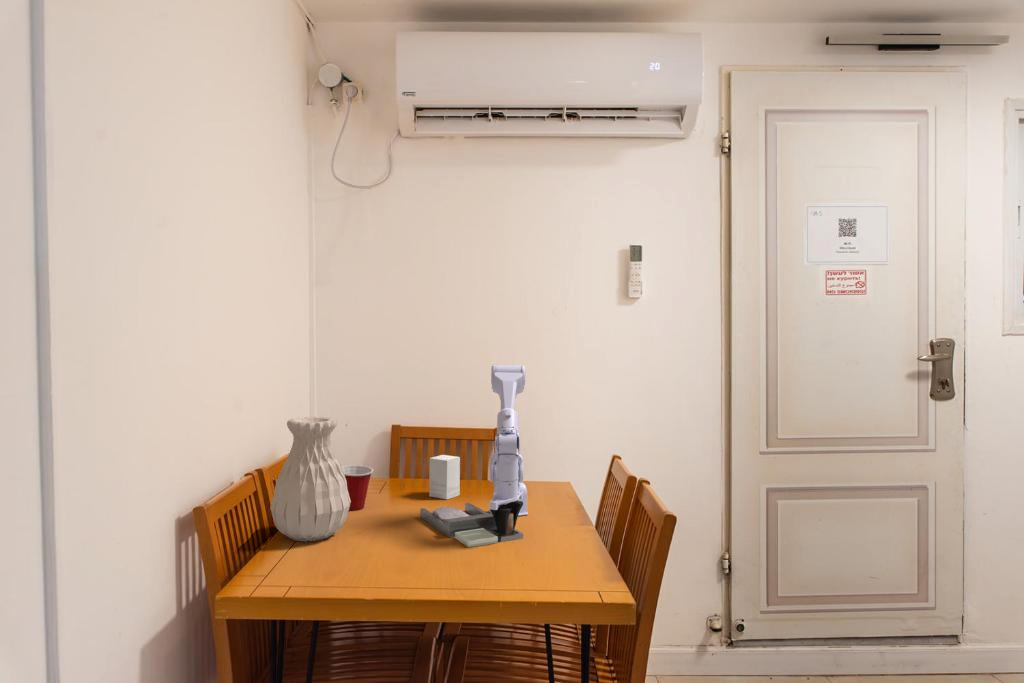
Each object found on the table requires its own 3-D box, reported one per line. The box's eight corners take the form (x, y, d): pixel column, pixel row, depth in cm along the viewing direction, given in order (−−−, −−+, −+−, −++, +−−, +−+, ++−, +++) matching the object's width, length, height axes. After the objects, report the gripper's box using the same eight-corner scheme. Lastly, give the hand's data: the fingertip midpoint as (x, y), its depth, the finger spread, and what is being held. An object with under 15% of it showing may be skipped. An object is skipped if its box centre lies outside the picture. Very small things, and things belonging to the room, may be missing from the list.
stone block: (459, 523, 189) (427, 521, 184) (462, 507, 190) (431, 504, 185) (477, 536, 179) (445, 534, 174) (481, 519, 179) (449, 516, 174)
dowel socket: (511, 531, 177) (511, 526, 177) (523, 538, 171) (523, 533, 171) (489, 534, 173) (489, 530, 173) (500, 541, 168) (501, 537, 168)
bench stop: (468, 510, 196) (468, 497, 196) (501, 529, 178) (502, 515, 178) (420, 516, 189) (420, 503, 189) (449, 537, 170) (449, 522, 170)
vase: (365, 535, 171) (367, 420, 170) (293, 553, 157) (294, 428, 156) (326, 519, 185) (327, 412, 184) (256, 534, 171) (257, 418, 170)
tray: (483, 533, 174) (483, 528, 174) (497, 542, 167) (497, 536, 167) (454, 538, 170) (455, 532, 170) (468, 547, 163) (468, 541, 163)
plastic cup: (351, 515, 189) (352, 474, 189) (328, 508, 196) (328, 468, 195) (380, 507, 198) (381, 468, 197) (357, 501, 204) (357, 463, 204)
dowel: (508, 533, 175) (509, 511, 175) (515, 537, 171) (515, 514, 171) (496, 535, 173) (497, 512, 173) (503, 539, 170) (503, 516, 170)
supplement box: (460, 495, 214) (461, 456, 214) (446, 500, 208) (446, 460, 208) (442, 492, 218) (443, 454, 218) (428, 496, 212) (428, 457, 212)
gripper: (507, 472, 180) (506, 521, 180) (479, 482, 168) (478, 535, 168) (530, 475, 177) (529, 525, 177) (503, 486, 164) (502, 540, 164)
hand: (506, 531), depth 172 cm, fingers open, 4 cm apart
